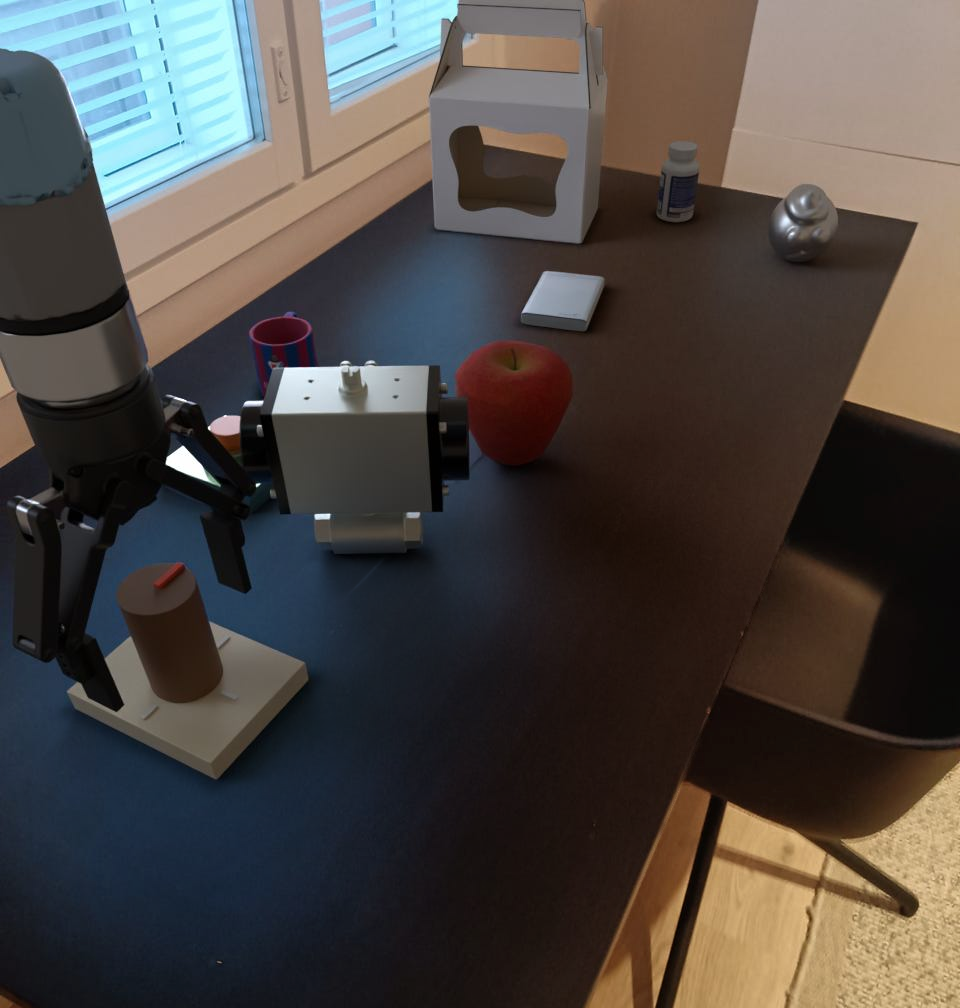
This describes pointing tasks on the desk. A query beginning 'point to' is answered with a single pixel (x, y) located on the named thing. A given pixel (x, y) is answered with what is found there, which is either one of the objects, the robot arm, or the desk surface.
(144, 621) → the knob
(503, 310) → the desk surface
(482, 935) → the desk surface
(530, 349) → the apple
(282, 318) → the mug
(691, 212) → the pill bottle
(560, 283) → the hard drive
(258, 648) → the panel
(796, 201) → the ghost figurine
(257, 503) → the button box
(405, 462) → the ball valve
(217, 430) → the button
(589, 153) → the gable box
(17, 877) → the desk surface
